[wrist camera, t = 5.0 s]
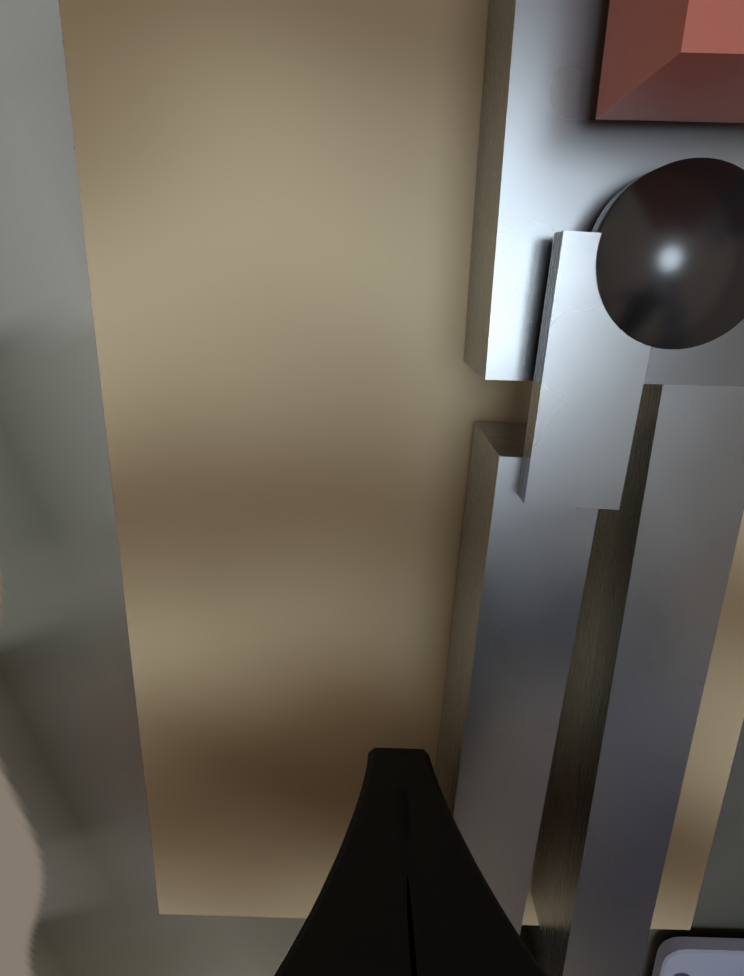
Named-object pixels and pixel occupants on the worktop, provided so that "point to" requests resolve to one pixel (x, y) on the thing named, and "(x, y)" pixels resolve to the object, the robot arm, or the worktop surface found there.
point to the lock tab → (673, 61)
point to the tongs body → (647, 488)
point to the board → (299, 419)
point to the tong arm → (568, 489)
